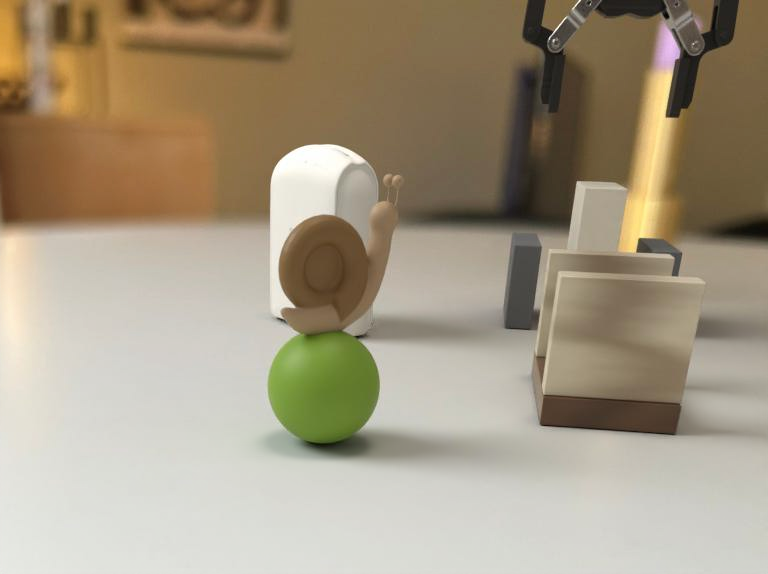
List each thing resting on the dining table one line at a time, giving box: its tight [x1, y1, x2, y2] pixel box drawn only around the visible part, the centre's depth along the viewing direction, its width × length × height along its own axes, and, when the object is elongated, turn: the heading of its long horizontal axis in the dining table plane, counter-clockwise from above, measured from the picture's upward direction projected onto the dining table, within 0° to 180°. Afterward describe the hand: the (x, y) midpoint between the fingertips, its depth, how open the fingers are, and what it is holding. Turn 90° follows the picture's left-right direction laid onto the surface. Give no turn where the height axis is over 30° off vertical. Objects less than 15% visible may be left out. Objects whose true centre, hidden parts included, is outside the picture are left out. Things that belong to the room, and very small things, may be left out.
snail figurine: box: [267, 173, 404, 444], centre depth 47 cm, size 5×6×12 cm
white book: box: [566, 180, 629, 252], centre depth 77 cm, size 3×8×10 cm, turn 170°
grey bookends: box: [502, 231, 683, 330], centre depth 78 cm, size 12×9×6 cm
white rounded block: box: [269, 143, 379, 337], centre depth 73 cm, size 10×4×12 cm, turn 29°
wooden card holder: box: [531, 248, 707, 435], centre depth 56 cm, size 7×12×8 cm, turn 170°
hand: (611, 115), depth 73 cm, fingers open, 8 cm apart
